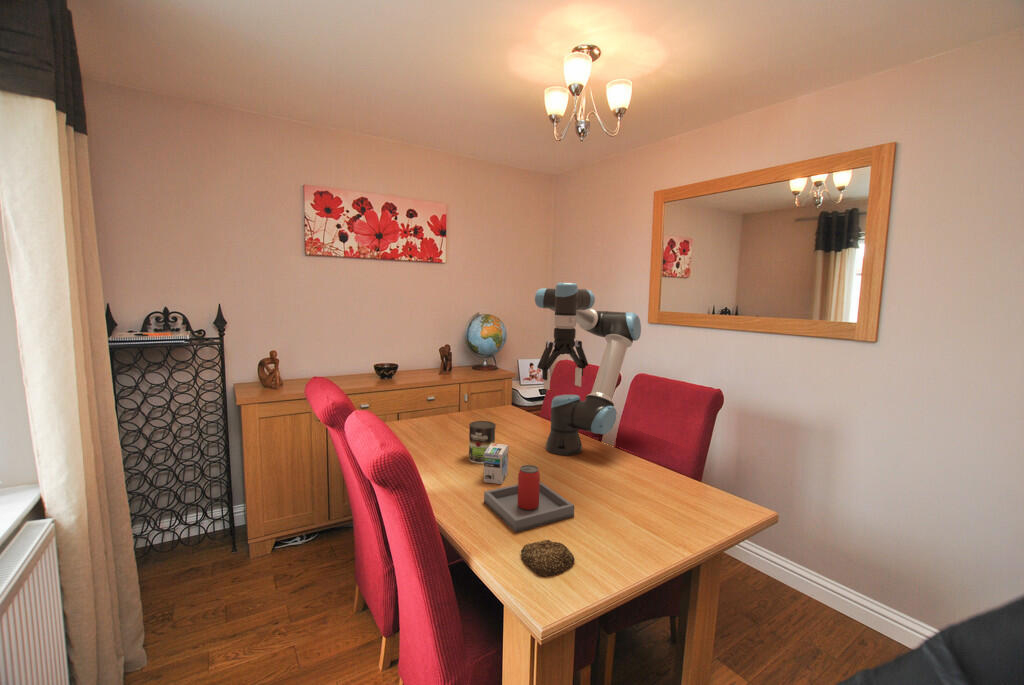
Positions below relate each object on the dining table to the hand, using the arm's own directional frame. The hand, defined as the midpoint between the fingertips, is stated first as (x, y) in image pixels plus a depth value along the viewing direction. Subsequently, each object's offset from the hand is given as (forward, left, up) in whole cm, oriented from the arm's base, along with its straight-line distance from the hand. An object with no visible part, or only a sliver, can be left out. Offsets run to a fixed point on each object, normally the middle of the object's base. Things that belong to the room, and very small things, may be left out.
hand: (562, 387), depth 158 cm
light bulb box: (+21, -9, -33) cm, 40 cm away
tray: (+23, +16, -33) cm, 43 cm away
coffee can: (+18, -27, -33) cm, 46 cm away
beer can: (+23, +16, -32) cm, 42 cm away
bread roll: (+32, +40, -33) cm, 61 cm away
